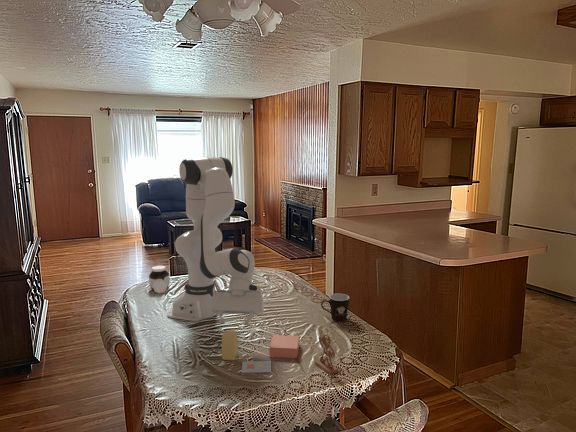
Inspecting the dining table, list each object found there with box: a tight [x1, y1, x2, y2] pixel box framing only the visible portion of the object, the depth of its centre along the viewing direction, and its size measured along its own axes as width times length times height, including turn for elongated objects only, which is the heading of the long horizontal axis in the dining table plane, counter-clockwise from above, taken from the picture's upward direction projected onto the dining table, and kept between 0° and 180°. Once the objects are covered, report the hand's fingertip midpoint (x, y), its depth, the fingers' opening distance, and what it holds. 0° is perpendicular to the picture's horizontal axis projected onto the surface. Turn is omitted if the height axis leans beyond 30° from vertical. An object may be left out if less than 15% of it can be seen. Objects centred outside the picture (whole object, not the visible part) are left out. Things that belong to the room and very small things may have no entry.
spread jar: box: [148, 265, 171, 294], centre depth 225 cm, size 12×11×12 cm
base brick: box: [268, 334, 300, 359], centre depth 161 cm, size 10×10×4 cm
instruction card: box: [240, 360, 272, 374], centre depth 149 cm, size 10×7×1 cm
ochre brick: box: [221, 330, 239, 361], centre depth 156 cm, size 4×4×9 cm
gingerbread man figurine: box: [314, 334, 340, 376], centre depth 148 cm, size 9×4×12 cm, turn 33°
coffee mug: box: [320, 293, 350, 323], centre depth 189 cm, size 12×9×10 cm
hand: (234, 324), depth 160 cm, fingers open, 8 cm apart
